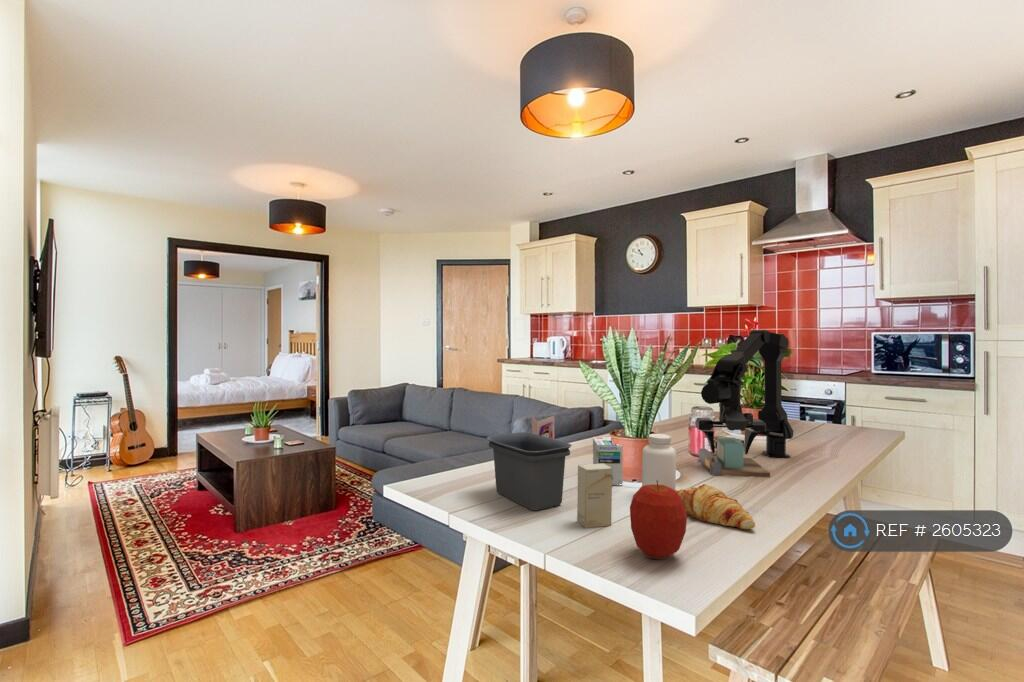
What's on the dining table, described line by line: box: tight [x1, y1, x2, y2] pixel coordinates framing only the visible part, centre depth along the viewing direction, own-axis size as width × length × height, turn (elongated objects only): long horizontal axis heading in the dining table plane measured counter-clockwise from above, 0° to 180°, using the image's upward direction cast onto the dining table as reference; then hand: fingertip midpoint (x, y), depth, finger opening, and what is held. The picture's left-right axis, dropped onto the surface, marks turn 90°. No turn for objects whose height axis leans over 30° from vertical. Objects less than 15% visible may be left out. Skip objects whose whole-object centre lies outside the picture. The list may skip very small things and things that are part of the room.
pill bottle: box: [641, 433, 677, 490], centre depth 124 cm, size 8×8×15 cm
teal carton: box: [716, 436, 744, 468], centre depth 150 cm, size 5×9×7 cm, turn 172°
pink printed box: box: [531, 414, 555, 439], centre depth 150 cm, size 11×7×15 cm, turn 150°
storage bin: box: [486, 431, 573, 511], centre depth 123 cm, size 21×16×14 cm
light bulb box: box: [592, 436, 624, 486], centre depth 138 cm, size 11×7×11 cm, turn 179°
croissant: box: [675, 483, 756, 530], centre depth 111 cm, size 21×10×8 cm, turn 32°
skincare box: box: [576, 463, 613, 529], centre depth 107 cm, size 6×4×12 cm
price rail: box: [698, 447, 722, 477], centre depth 151 cm, size 18×2×4 cm, turn 172°
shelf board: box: [714, 456, 771, 478], centre depth 150 cm, size 17×13×1 cm
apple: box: [629, 480, 688, 560], centre depth 91 cm, size 10×10×14 cm
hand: (729, 453), depth 150 cm, fingers open, 9 cm apart
